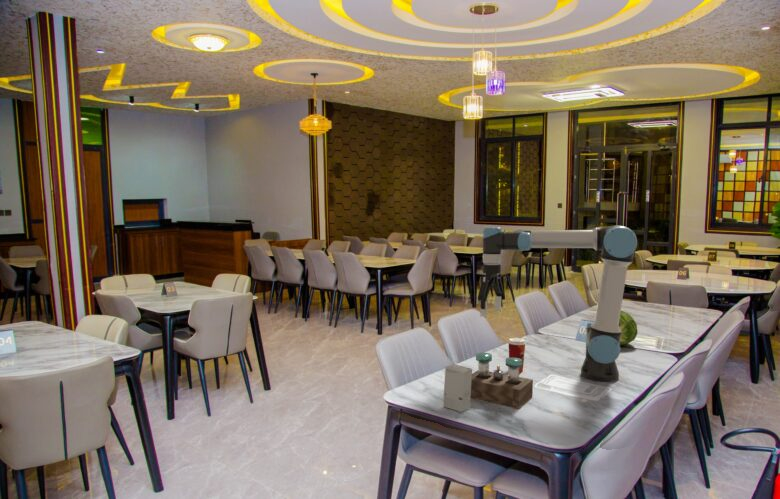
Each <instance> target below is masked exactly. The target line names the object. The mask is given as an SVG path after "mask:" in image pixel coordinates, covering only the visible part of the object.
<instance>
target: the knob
mask: <svg viewBox="0 0 780 499" xmlns="http://www.w3.org/2000/svg"><path fill="white" fill-rule="evenodd" d="M475 360H476V361H477V363H478V365H477V366H478V368H477V371H478V378H483V379H488V378H489V372H490V362H492V360H493V355H492V353H489V352H478V353H477V352H476V354H475Z"/></svg>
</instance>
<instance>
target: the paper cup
mask: <svg viewBox="0 0 780 499" xmlns="http://www.w3.org/2000/svg"><path fill="white" fill-rule="evenodd" d="M507 343H508V358H511V357H513V358H520V359H522V366H521V367H519V374H521V373H523V371H524V362H525V351H526V350H525V348H526V344H527V342H526V341H525V339H524V338H520V337H511V338H509V339H508V341H507Z"/></svg>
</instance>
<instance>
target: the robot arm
mask: <svg viewBox="0 0 780 499" xmlns="http://www.w3.org/2000/svg"><path fill="white" fill-rule="evenodd" d="M637 246H638V239H637V235H636V233H635V232H634V231H633V230H632V229H631V228H629V227H627V226H624V225H618V224H617V225H609V226H602V227H599V226H597V227H594V228H593V229H563V230H562V229H559V230H555V229H554V230H552V229H548V230H547V229H546V230H536V229H535V230H522V229H517V230H514V231H502V227H499V226H487V227H484V228H483V233H482V263H483V264H482V273H483V274H485V276H481V282H480V287H479V291H478V295H477V300H478V301H480V309H479V310H480V313H479V314H480V317H482V318H483V317H484V318H486V317H488V297H489V294H490V291H491V289H493V291H494V294H495V296H494V312H502V297H505V296H504V295H505V294H504V293H505V291H504V286H503V282H502V274H501V271H502V270H501V268H502V266H501V263H502V251H521V252H523V251H530V250H531V249H546V248H547V249H594V250H595V251H601V255H600V259H601V260H602V262H603V269H602V275H601V276H602V277H601V282H600V288H599V296H598V302H597V309H596V315H595V321H594V322H593V321H590V322H588V323H587V324H586V328H585V330H586V336H585V337H586V339H585V358H584V360H583V362H582V363H583V364H582V366H581V368H580V375H581V377H583V378H585V379H587V380H590V381H591V380H592V381H596V382H604V383H605V382H607V383H608V382H616V381H618V380H620V379H619V376H620V373H619V369H618V365H617V362H616V360H617V359H618V358H619V356H620V354H621V345H620V339H621V332H622V330H621V329H620V328H619V326H618V324H619V318H620V311H622V304H623V299H624V298H623V297H624V292H625V284H626V278H627V271H628V267H629V266H630V265H631V264H632V263H633V261H634V255H635V251H636V250H637Z"/></svg>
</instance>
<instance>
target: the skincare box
mask: <svg viewBox="0 0 780 499" xmlns="http://www.w3.org/2000/svg"><path fill="white" fill-rule="evenodd" d="M444 371H445V372H444V382H443V384H444V385H443V386H444V387H443V388H444V389H443V402H442V403H443V404H442V406H443V408H447V409H450V410H454V411H456V412H459V413H463V412H465V411H467V410H469V409H471V398H470V397H471V380H472V374H473V369H472V368H470V367H466V366H463V365H459V364H455V363H452V364H450V365H446V366H445V367H444Z"/></svg>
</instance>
